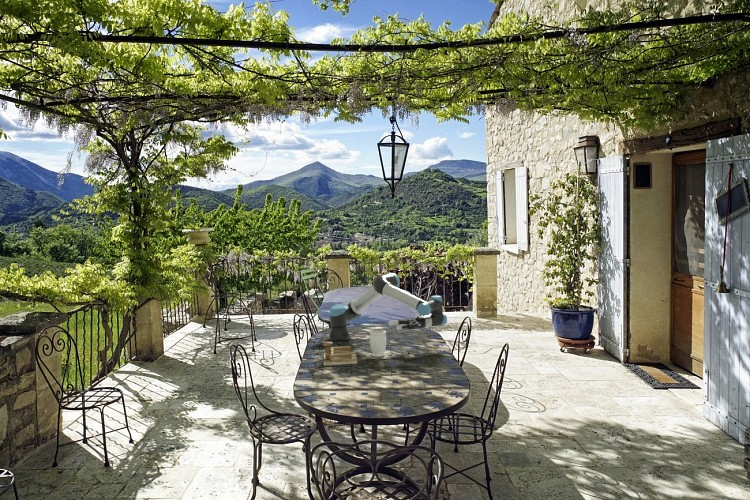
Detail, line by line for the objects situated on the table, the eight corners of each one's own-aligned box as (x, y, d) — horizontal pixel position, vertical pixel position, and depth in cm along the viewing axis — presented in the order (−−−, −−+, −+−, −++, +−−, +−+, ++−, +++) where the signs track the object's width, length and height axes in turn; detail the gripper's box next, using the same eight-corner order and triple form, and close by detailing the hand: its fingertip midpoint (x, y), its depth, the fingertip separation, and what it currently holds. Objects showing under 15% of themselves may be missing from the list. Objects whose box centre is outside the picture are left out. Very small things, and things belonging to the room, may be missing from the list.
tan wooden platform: (324, 355, 335) (323, 336, 334) (355, 353, 336) (355, 334, 335) (323, 365, 313) (322, 345, 312) (357, 363, 314) (356, 343, 313)
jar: (385, 357, 324) (384, 333, 323) (368, 357, 326) (367, 333, 325) (388, 352, 335) (387, 329, 333) (372, 352, 337) (371, 329, 335)
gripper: (432, 331, 327) (400, 335, 320) (415, 323, 351) (386, 327, 344) (431, 319, 327) (399, 323, 320) (415, 312, 350) (385, 316, 343)
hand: (392, 325), depth 332 cm, fingers open, 13 cm apart
